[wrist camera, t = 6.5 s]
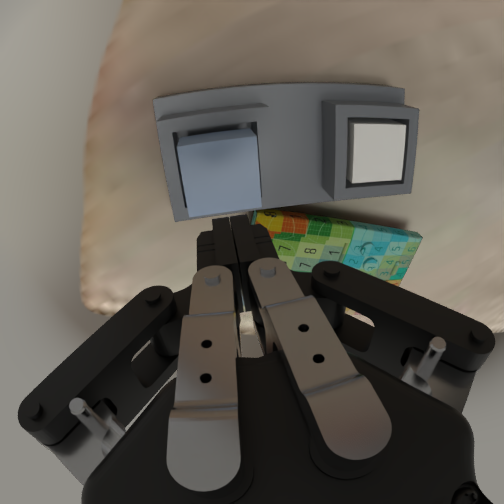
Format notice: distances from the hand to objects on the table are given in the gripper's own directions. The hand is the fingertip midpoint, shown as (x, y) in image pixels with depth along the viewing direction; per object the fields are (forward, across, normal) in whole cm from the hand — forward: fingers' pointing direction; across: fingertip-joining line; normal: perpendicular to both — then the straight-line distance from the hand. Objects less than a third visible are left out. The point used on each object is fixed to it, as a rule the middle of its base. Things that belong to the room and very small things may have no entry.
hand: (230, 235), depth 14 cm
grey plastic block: (+16, -7, 0) cm, 17 cm away
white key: (+13, -13, 0) cm, 18 cm away
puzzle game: (+17, -11, +14) cm, 24 cm away
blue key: (+10, 0, 0) cm, 10 cm away
